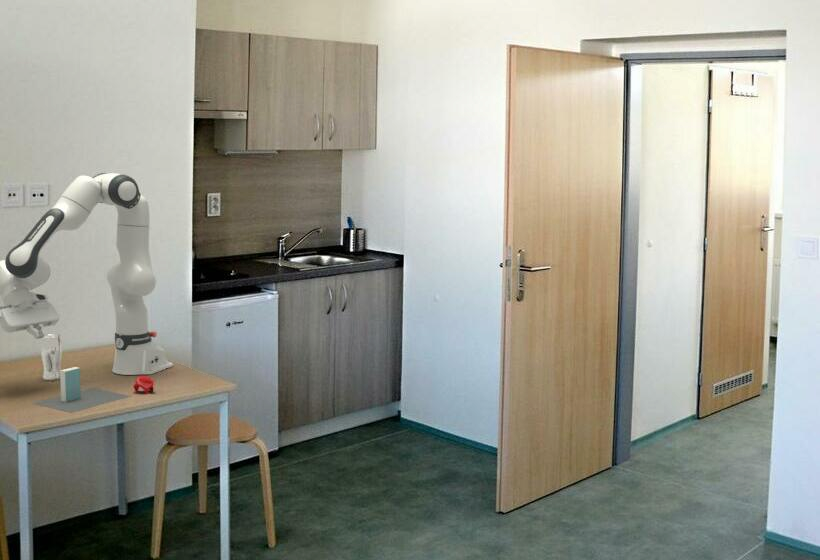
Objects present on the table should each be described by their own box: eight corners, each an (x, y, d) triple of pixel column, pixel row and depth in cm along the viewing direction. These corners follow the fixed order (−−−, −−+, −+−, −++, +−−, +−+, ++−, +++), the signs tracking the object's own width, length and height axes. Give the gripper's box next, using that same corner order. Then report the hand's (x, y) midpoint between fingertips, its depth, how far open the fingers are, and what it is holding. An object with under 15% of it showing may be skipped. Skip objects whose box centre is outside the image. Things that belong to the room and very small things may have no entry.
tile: (76, 396, 333) (75, 366, 331) (81, 398, 331) (80, 367, 330) (61, 400, 328) (60, 370, 326) (66, 402, 326) (65, 371, 325)
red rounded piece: (146, 388, 336) (157, 375, 340) (131, 380, 337) (141, 368, 341) (147, 402, 341) (158, 390, 345) (132, 395, 343) (143, 383, 347)
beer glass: (43, 381, 353) (41, 338, 351) (40, 376, 360) (38, 334, 357) (64, 379, 357) (63, 337, 354) (61, 374, 363) (59, 333, 360)
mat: (92, 389, 344) (92, 387, 344) (130, 398, 335) (130, 396, 335) (32, 405, 324) (32, 403, 324) (71, 414, 315) (71, 412, 315)
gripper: (-3, 301, 327) (17, 336, 323) (50, 294, 344) (70, 327, 340) (-12, 313, 330) (8, 348, 326) (41, 306, 347) (61, 338, 343)
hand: (40, 337), depth 333 cm, fingers closed
